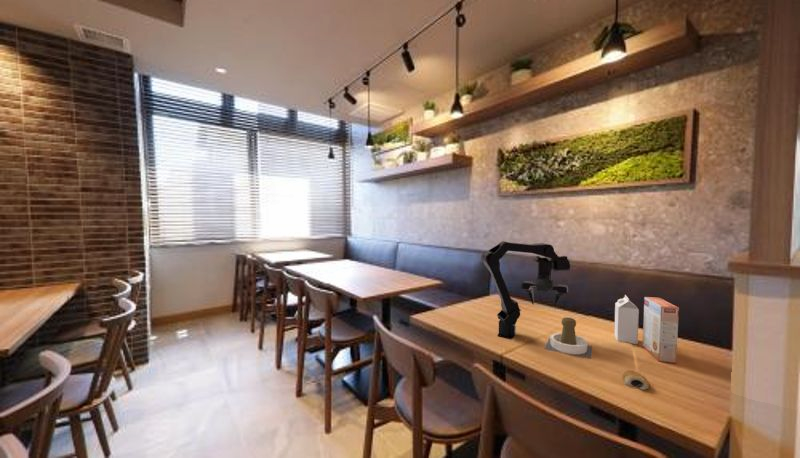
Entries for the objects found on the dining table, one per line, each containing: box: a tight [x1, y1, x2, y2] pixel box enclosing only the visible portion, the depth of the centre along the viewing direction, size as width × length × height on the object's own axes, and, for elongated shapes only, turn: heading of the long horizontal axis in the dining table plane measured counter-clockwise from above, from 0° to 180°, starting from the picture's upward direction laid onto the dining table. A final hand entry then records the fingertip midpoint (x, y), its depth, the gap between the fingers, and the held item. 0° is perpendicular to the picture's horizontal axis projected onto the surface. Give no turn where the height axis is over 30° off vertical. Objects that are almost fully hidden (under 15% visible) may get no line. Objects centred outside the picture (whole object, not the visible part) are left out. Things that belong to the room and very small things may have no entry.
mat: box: [544, 337, 593, 359], centre depth 130 cm, size 16×13×1 cm
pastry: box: [621, 369, 650, 391], centre depth 105 cm, size 9×7×4 cm
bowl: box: [550, 332, 589, 356], centre depth 130 cm, size 13×13×3 cm
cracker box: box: [642, 296, 680, 364], centre depth 124 cm, size 14×6×21 cm, turn 163°
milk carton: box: [614, 294, 640, 345], centre depth 138 cm, size 7×7×19 cm
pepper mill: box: [560, 316, 577, 345], centre depth 130 cm, size 6×6×11 cm
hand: (544, 305), depth 146 cm, fingers open, 9 cm apart
